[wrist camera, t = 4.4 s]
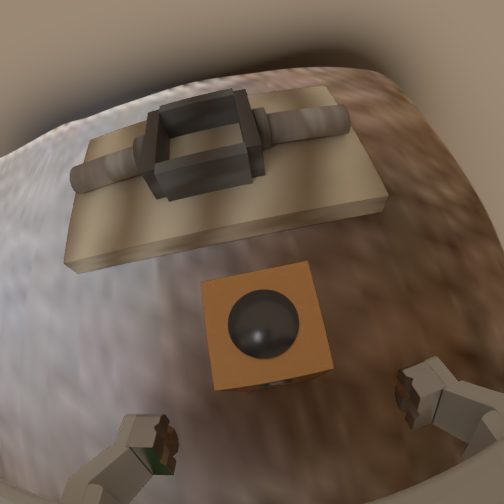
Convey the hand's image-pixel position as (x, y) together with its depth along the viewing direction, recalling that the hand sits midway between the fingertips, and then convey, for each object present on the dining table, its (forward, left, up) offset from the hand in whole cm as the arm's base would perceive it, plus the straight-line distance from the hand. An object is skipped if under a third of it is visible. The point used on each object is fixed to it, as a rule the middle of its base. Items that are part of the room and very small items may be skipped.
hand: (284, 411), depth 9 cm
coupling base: (-7, +17, -8) cm, 20 cm away
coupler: (-1, +3, -8) cm, 8 cm away
